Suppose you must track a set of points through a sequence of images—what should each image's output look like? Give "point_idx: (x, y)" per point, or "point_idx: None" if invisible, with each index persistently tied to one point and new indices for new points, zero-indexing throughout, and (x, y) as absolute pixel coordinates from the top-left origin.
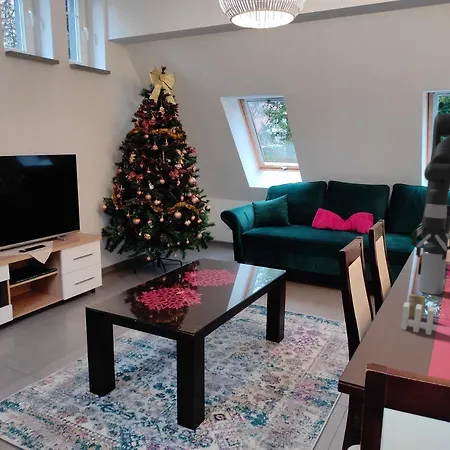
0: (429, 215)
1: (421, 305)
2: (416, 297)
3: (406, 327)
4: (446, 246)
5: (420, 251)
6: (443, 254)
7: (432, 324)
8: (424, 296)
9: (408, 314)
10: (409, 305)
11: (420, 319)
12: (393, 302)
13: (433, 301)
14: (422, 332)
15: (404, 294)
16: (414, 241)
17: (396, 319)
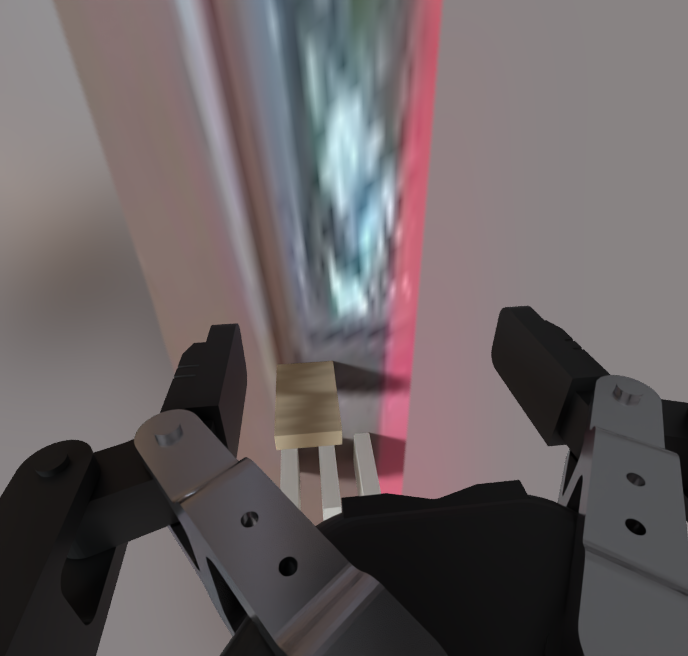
0: None
1: (339, 511)
2: (308, 443)
3: (299, 466)
4: (658, 423)
5: (229, 365)
6: (531, 404)
7: (371, 448)
8: (340, 432)
9: (298, 480)
10: (298, 506)
11: (335, 460)
12: (168, 245)
13: (365, 80)
14: (344, 459)
15: (157, 13)
16: (92, 587)
17: (252, 418)
